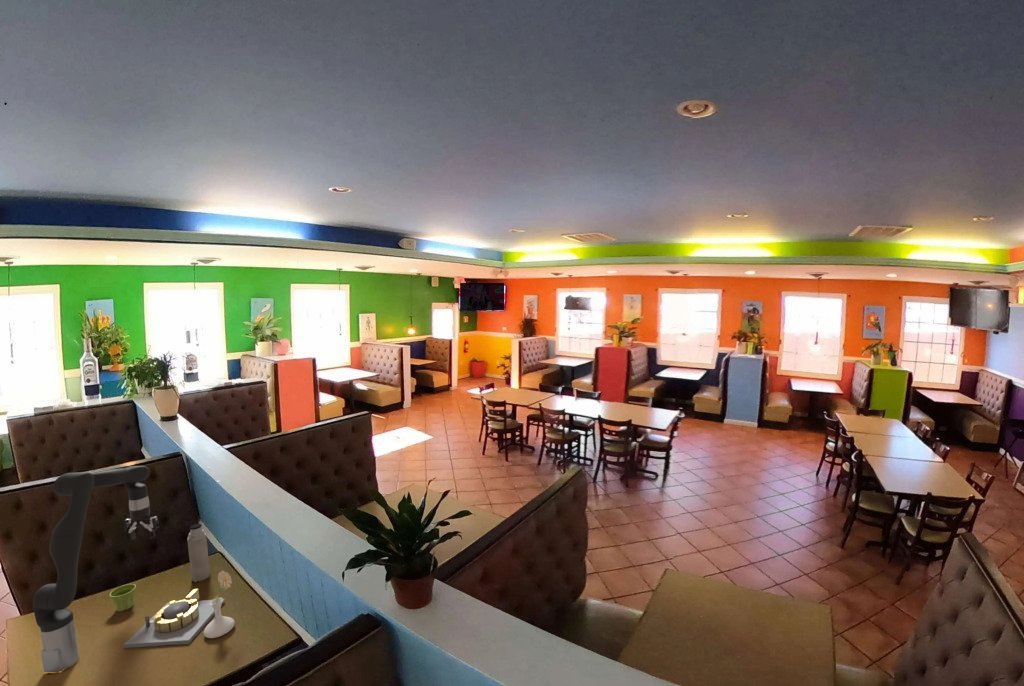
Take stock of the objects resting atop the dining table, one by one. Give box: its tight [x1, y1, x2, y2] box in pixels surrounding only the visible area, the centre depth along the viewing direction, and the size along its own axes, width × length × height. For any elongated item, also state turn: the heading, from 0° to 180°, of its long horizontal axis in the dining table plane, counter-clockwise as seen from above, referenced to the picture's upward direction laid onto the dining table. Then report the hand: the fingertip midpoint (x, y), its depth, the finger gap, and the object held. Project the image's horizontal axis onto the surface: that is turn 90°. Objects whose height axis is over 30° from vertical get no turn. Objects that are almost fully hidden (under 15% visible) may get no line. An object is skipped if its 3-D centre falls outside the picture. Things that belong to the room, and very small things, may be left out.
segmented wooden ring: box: [153, 588, 200, 632], centre depth 206 cm, size 22×16×5 cm
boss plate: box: [123, 598, 226, 649], centre depth 203 cm, size 26×26×8 cm
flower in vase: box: [203, 570, 236, 639], centre depth 197 cm, size 13×11×25 cm
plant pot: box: [109, 583, 137, 612], centre depth 215 cm, size 9×9×9 cm
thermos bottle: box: [187, 523, 211, 583], centre depth 236 cm, size 8×8×28 cm
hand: (143, 538), depth 223 cm, fingers open, 8 cm apart
